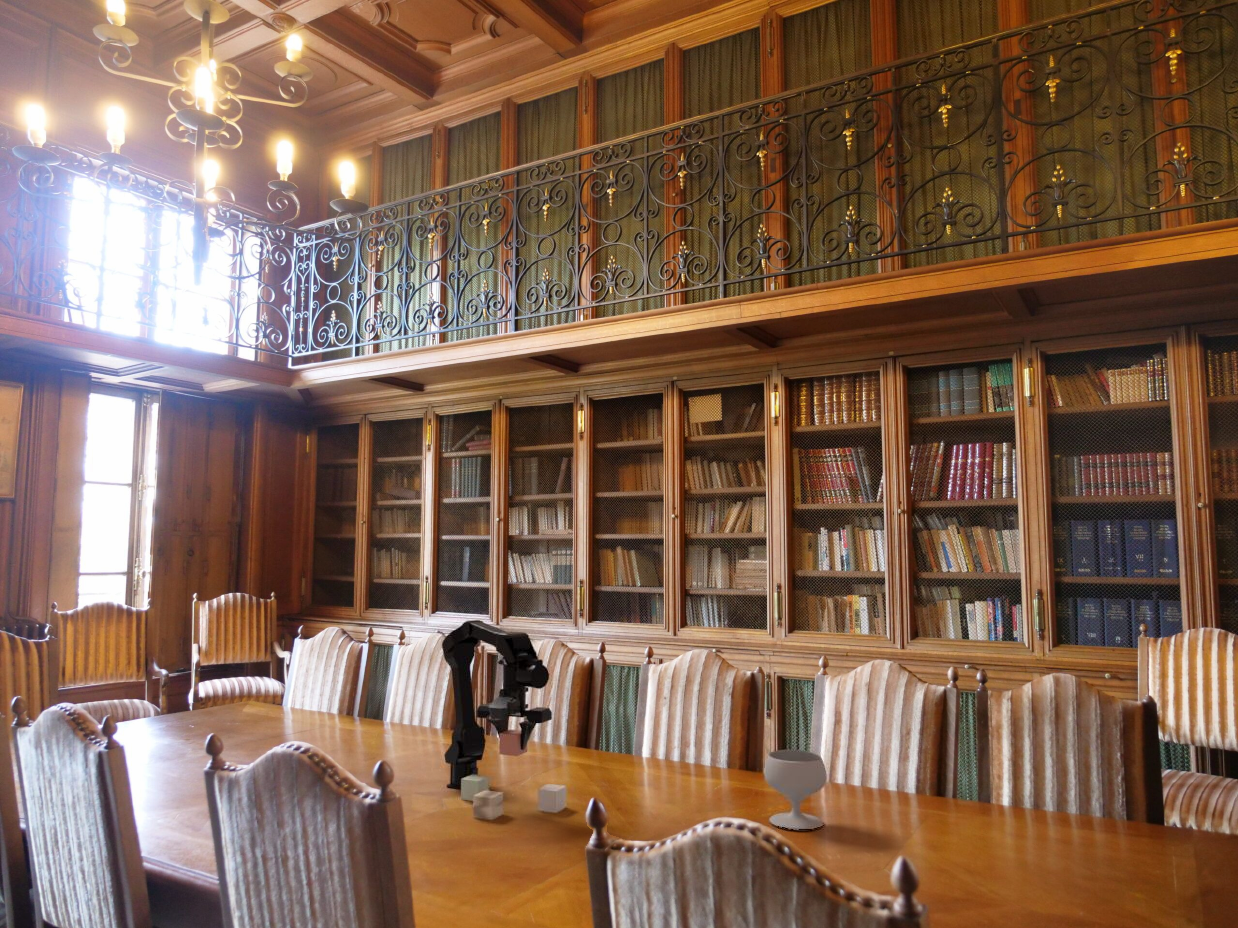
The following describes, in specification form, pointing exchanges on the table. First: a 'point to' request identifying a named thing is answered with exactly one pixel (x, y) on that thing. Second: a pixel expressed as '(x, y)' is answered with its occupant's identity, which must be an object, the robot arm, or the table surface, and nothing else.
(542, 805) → the pale grey block
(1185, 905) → the table surface
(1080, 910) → the table surface
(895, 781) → the table surface
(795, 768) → the chalice
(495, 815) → the ash block
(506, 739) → the brick-red block
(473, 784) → the sage green block
